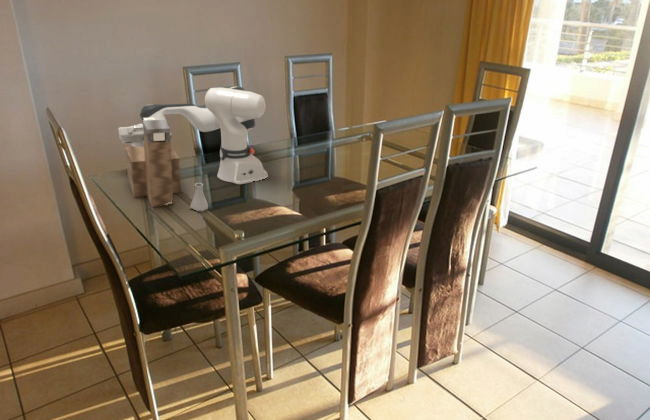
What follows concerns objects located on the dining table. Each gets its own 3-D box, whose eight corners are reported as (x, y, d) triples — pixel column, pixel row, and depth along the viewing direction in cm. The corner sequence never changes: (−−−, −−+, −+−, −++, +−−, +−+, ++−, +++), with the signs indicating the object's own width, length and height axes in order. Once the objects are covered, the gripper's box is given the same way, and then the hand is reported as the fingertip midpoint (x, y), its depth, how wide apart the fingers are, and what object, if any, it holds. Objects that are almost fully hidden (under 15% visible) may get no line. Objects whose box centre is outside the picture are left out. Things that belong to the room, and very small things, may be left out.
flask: (204, 213, 197) (203, 189, 193) (186, 210, 198) (185, 186, 194) (211, 205, 203) (211, 182, 199) (194, 202, 204) (194, 179, 200)
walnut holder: (172, 177, 223) (169, 107, 209) (185, 203, 203) (184, 127, 189) (128, 181, 215) (122, 108, 201) (137, 208, 195) (132, 130, 181)
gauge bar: (154, 124, 206) (153, 116, 204) (165, 140, 188) (164, 131, 186) (143, 125, 204) (143, 116, 202) (153, 141, 186) (153, 131, 185)
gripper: (167, 140, 228) (172, 134, 215) (118, 143, 219) (120, 137, 206) (165, 126, 228) (170, 119, 215) (116, 128, 219) (118, 121, 206)
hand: (145, 128), depth 211 cm, fingers open, 8 cm apart
